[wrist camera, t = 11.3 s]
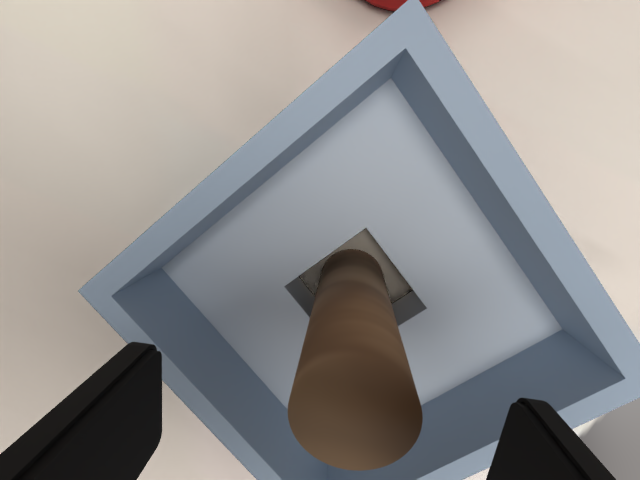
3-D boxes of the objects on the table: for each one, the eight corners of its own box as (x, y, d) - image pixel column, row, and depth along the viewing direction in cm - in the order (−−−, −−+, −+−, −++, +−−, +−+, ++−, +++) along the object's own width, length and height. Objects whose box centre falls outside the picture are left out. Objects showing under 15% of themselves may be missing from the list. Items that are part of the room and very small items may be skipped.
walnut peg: (345, 317, 18) (340, 489, 9) (308, 272, 18) (260, 400, 8) (395, 285, 18) (449, 434, 8) (358, 236, 17) (368, 333, 8)
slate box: (328, 437, 21) (319, 545, 15) (163, 250, 18) (77, 290, 13) (559, 309, 17) (666, 385, 11) (389, 59, 15) (414, -7, 9)
